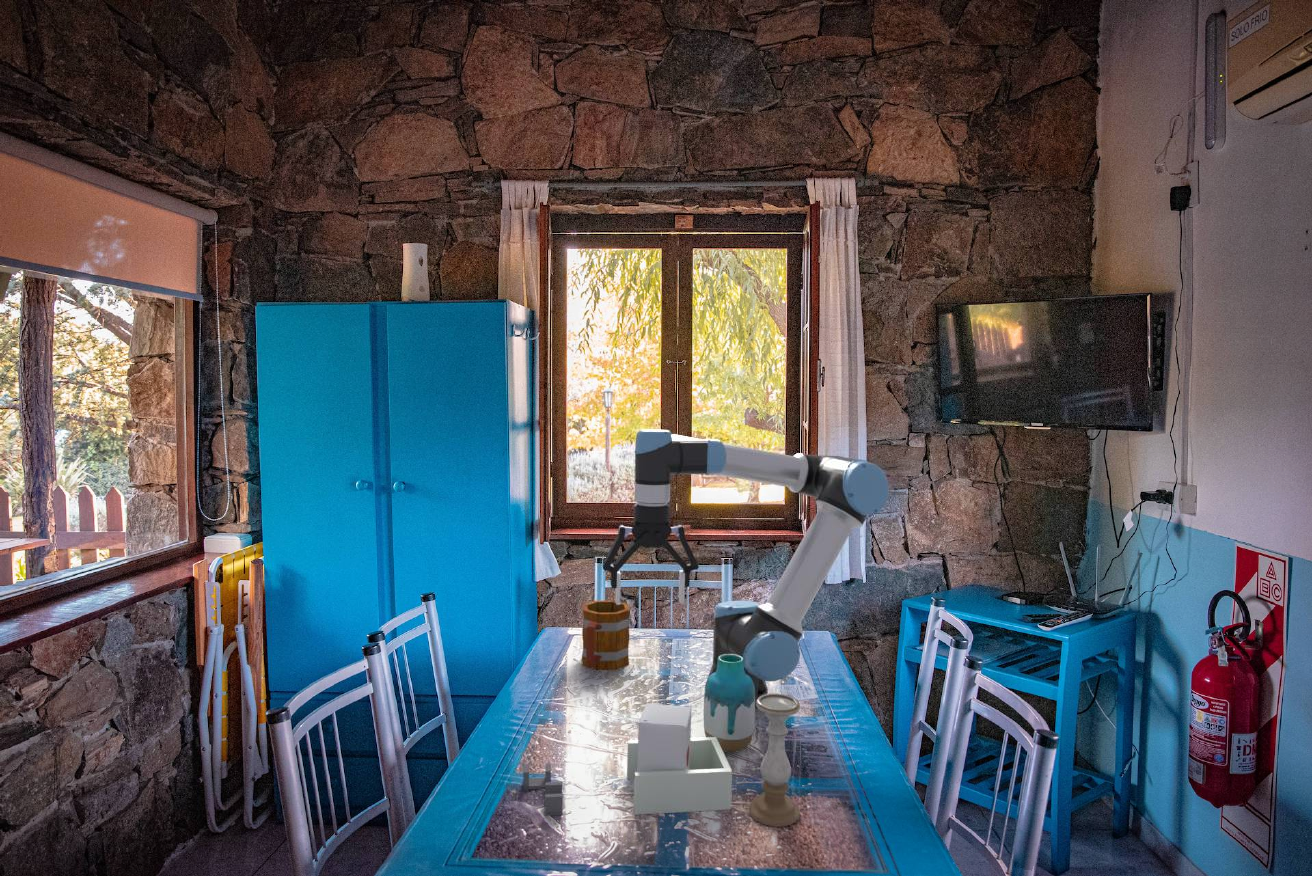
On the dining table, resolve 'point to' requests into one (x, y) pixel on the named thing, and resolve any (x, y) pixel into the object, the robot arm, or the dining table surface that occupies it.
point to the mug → (605, 635)
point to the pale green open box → (683, 781)
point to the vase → (730, 704)
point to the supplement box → (664, 738)
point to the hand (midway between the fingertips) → (649, 602)
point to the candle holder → (775, 765)
